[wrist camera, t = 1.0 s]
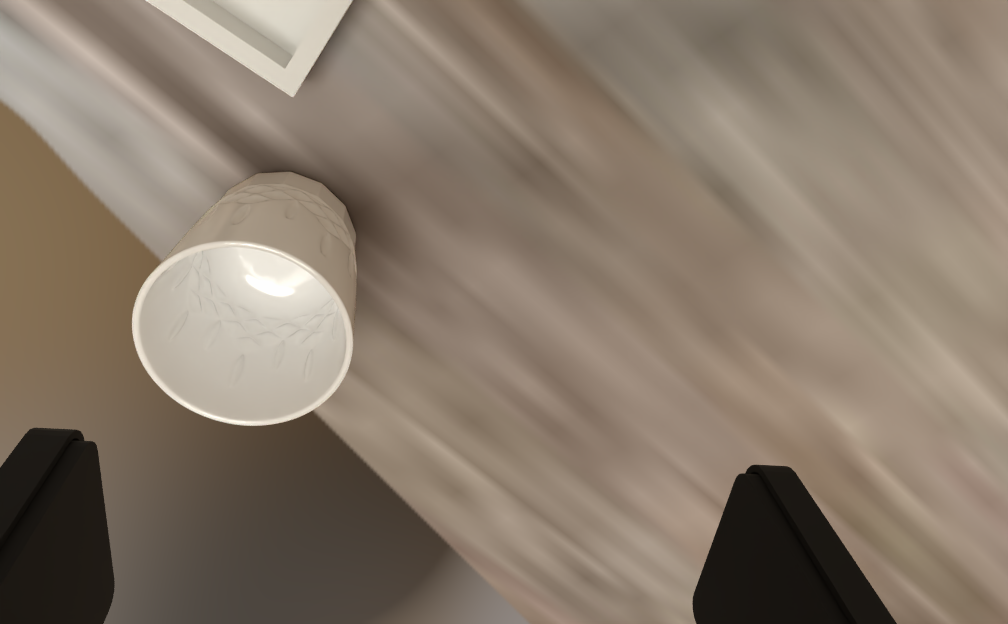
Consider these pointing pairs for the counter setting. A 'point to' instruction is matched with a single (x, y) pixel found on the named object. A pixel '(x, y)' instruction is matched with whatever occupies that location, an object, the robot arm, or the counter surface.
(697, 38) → the counter surface
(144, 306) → the white cup
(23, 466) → the robot arm
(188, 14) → the white bin
